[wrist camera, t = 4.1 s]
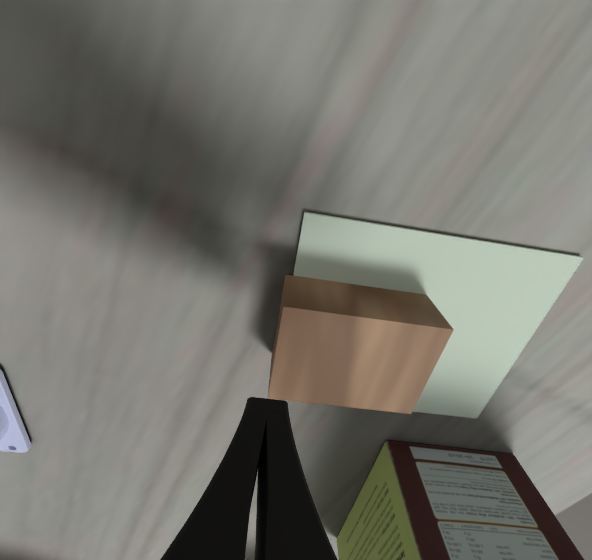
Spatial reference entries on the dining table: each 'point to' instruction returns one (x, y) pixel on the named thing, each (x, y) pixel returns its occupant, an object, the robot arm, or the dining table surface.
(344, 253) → the mat
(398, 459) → the protein box
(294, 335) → the block
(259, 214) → the dining table surface
